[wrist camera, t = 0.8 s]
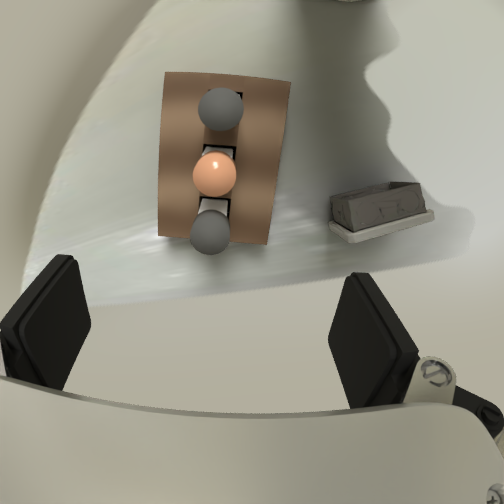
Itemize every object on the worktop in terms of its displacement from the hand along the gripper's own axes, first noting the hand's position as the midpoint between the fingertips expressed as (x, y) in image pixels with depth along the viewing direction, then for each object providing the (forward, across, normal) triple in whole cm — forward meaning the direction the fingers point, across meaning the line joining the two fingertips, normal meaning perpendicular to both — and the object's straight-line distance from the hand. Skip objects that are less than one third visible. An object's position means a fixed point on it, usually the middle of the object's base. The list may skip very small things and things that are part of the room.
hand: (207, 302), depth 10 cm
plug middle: (+20, +1, -1) cm, 20 cm away
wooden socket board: (+24, 0, -1) cm, 24 cm away
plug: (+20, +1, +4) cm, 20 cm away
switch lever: (+20, 0, -6) cm, 21 cm away
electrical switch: (+24, -15, +2) cm, 29 cm away
